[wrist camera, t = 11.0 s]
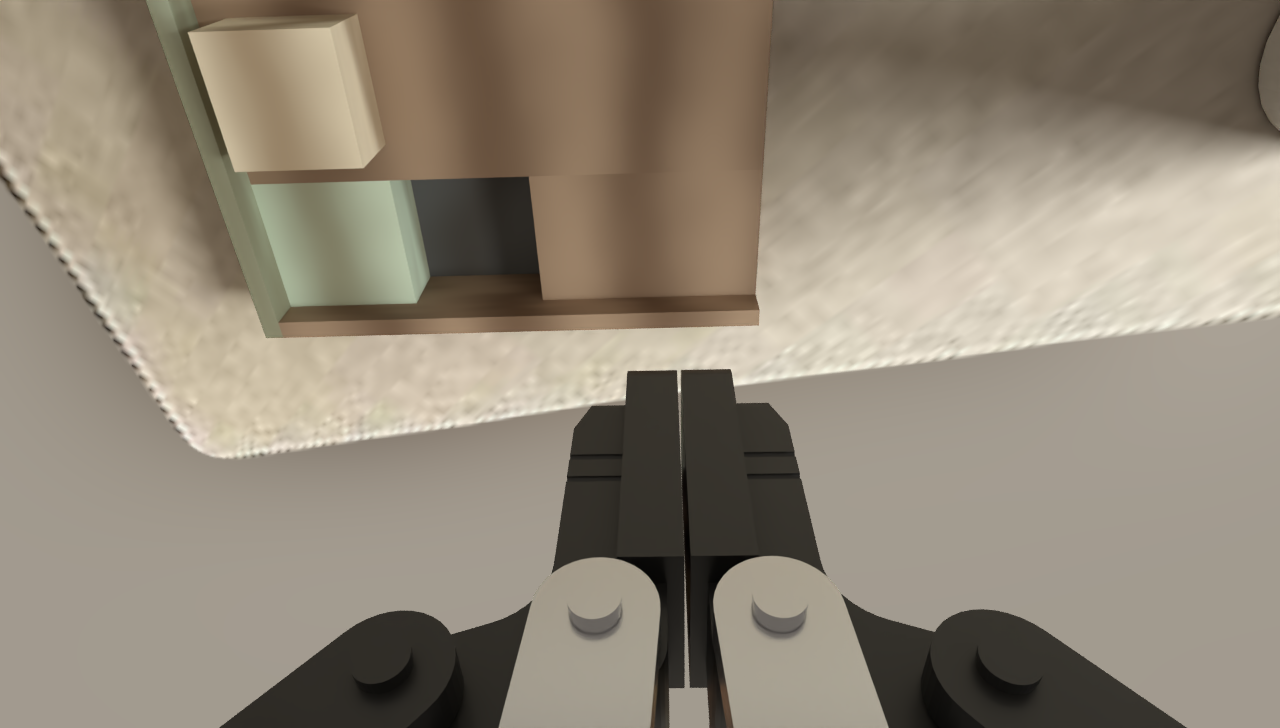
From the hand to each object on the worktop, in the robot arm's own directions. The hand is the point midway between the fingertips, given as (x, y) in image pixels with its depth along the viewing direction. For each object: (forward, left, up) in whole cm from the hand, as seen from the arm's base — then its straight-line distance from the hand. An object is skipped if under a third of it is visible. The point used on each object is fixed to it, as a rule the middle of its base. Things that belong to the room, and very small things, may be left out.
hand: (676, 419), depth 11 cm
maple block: (+14, 0, -22) cm, 26 cm away
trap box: (+6, 0, -25) cm, 26 cm away
